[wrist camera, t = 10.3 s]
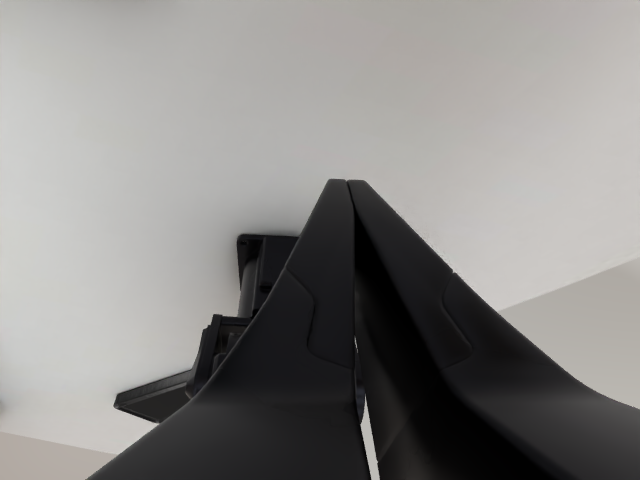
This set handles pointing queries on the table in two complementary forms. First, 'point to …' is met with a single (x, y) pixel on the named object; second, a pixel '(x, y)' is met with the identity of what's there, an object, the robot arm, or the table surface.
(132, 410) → the phone
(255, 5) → the table surface
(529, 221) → the table surface
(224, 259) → the table surface
